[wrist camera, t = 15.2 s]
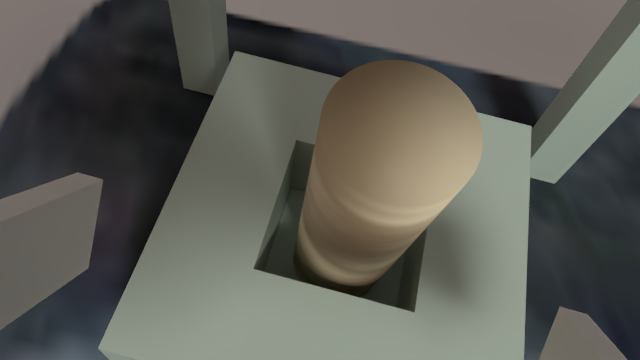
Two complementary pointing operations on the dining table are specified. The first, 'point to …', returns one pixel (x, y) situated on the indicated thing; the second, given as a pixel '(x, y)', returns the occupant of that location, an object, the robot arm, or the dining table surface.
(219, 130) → the socket
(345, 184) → the dowel
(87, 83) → the dining table surface
